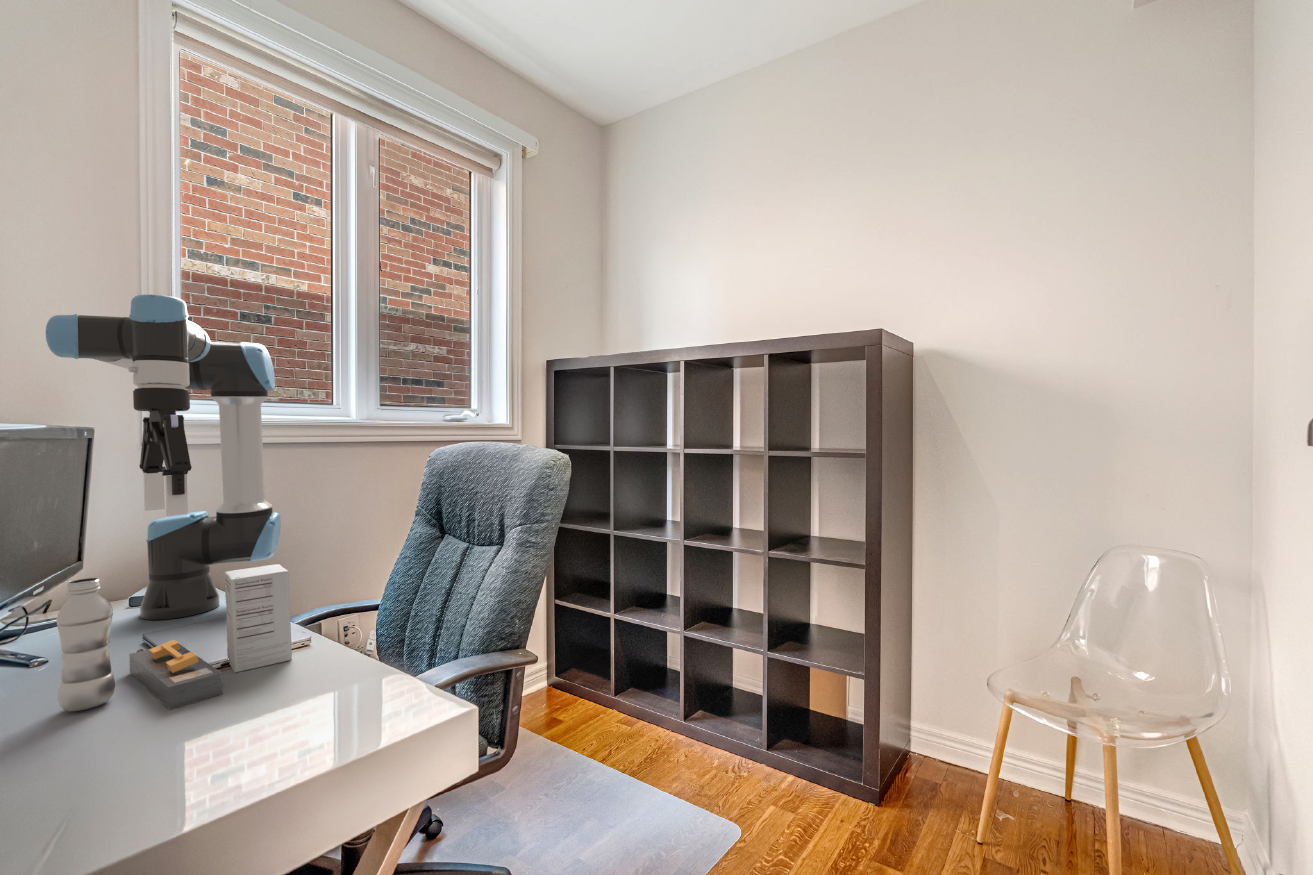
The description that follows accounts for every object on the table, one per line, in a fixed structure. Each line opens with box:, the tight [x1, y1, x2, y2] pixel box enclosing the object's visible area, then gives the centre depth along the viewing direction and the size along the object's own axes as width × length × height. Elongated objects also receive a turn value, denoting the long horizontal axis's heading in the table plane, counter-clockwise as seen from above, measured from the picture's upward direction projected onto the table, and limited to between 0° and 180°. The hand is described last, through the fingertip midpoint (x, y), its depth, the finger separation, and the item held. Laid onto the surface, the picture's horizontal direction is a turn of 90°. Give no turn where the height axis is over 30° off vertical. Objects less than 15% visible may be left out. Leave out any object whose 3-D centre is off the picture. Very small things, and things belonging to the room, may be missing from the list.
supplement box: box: [224, 563, 293, 673], centre depth 116 cm, size 10×9×17 cm
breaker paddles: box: [149, 639, 199, 673], centre depth 106 cm, size 13×4×2 cm, turn 52°
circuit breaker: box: [128, 643, 224, 711], centre depth 109 cm, size 34×7×4 cm, turn 52°
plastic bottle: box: [55, 577, 116, 712], centre depth 97 cm, size 6×7×20 cm
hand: (165, 512), depth 105 cm, fingers open, 13 cm apart
